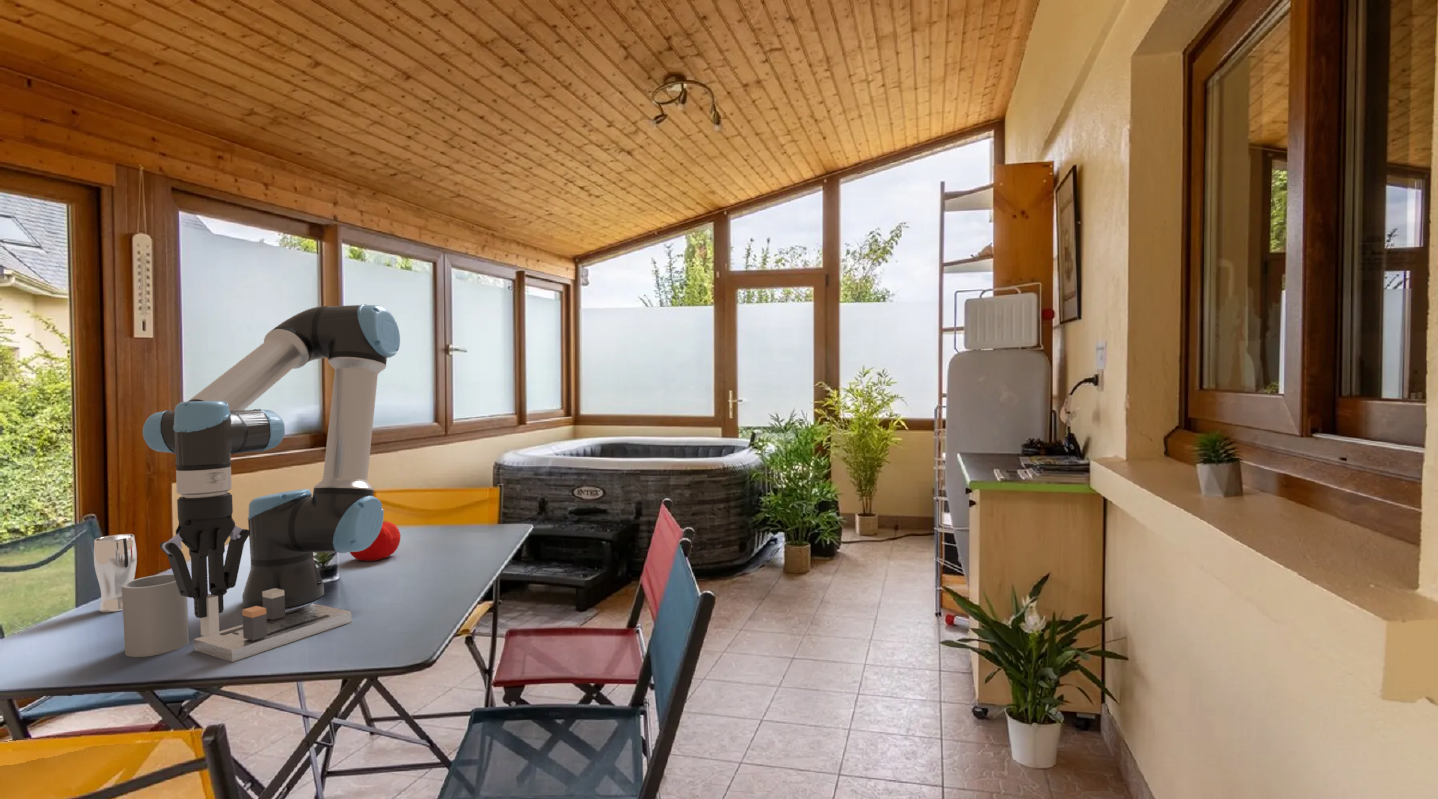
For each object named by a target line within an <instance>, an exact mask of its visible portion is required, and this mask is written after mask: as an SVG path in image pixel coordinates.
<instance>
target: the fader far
mask: <svg viewBox="0 0 1438 799" xmlns="http://www.w3.org/2000/svg"><path fill="white" fill-rule="evenodd" d="M262 597H263V608H266V616H267V619H271V620H274V619H277V618H281V617H284V616H285V612H286V608H285V596H284V590H281V589H276V588H274V589H270V590H266V591H263V592H262Z"/></svg>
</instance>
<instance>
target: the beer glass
mask: <svg viewBox="0 0 1438 799" xmlns="http://www.w3.org/2000/svg"><path fill="white" fill-rule="evenodd" d="M135 539H136V538H135V534H132V533H124V534H122V533H121V534H113V535H106V536H105V535H104V536H101V537H97V538H95V539H94V540H93V541H94V542H93V544H94V546H93V562H94V563H93V565H94V569H95V570H94V571H95V574H96V578H97V581H98V585H99V590H100V604H99V608H98V610H99V612H101V613H115V612H123V603H122V585H123V584H124V583H126V582H129V581H131V580H135V578H136V577H135V576H136V570H137V562H138V560H137V559H138V558H137V557H138V552H137V545H136V540H135Z"/></svg>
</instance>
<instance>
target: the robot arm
mask: <svg viewBox="0 0 1438 799" xmlns="http://www.w3.org/2000/svg"><path fill="white" fill-rule="evenodd" d="M400 345H401V335H400V330H399V326H398V323H397V321H396V320H395V317H394V315H393V314H392V313H391V312H390V311H389V310H388V309H387V308H386V307H384V306H381V305H375V304H374V305H373V304H366V303H365V304H359V305H358V304H357V305H356V304H355V305H331V306H330V305H323V306H322V305H321V306H316V307H312V308H308V309H305V310H303V311H302V312H301V311H300V312H299V313H297V314H295V315H292V316H291V317H289V318H288V319H286V320H284V321H283V322H281V323H280V324H278V325H277V326H275V327H273V329H271V330H270V331H268V332H267V333H266V335H264V339H263V343H261V344H260V345H259V346H257V347H256V348H255V349H254V350H252V351H251V352H249V353H248V354H247V355H246V356H245V357H243V358H242V359H241V360H239V361H238V362H237V363H236V364H235V365H233V366H232V367H230V368H228V370H226V371H225V372H223V374H222V375H220V376H219V377H218V378H216V379H215V380H213V381H212V382H211V383H210V384H208V385H207V386H205V387H204V388H203V389H201V390H200V391H199V392H198V393H197V394H196V395H194V396H193V397H192V398H190V399H189V400H188V401H181V402H178V404H176V406H174V410H164V411H158V412H154V413H153V414H151V415H150V416H148V417H147V418H146V420H145V422H144V424H143V427H142V436H143V440H144V441H145V444H146V446H148V448H150V449H151V450H153V451H156V452H158V453H159V452H160V453H170V454H175V464H176V465H175V467H176V469H175V478H176V480H175V481H176V482H175V483H176V493H177V494H178V495H180V497H178V498H177V500H176V503H177V519H178V520H177V521H178V526H177V527H176V530H175V535H174V536H172V537H171V538H170V539H169V540H167V541H162V542H161V543H159V548H160V550H161V551H162V552H164V554H165V555H166V556H167V559H168V562H169V565H170V568H171V572H172V574H174V577H175V580H176V583H177V586H178V589H179V592H180V595H182V596H185V597H187V598H189V599H190V598H191V599H193V606H194V609H193V610H194V616H195V618H198V619H200V620H199V621H200V636H202V637H203V636H207V637H213V636H216V635H219V631H220V619H219V618H220V616H219V615H220V614H222V613H223V612H224V610H225V607H224V604H225V603H224V595H226V594H227V593H228V590H229V589H233V588H234V587H235V586H236V585H237V580H238V574H239V569H240V565H241V560H242V555H243V550H244V548H245V547H244V546H245V543H246V541H247V539H249V553H250V554H249V555H250V570H249V573H248V576H247V579H246V582H245V586H244V589H243V593H242V607H244V609H247V608H250V607H254V606H259V607H263V597H262V592H263V591H266V590H270V589H274V588H276V589H281V590H284V596H285V609H287V608H291V607H296V606H300V605H304V604H307V603H311V602H314V601H315V600H318V599H320V598H322V596H324V594H325V588H324V587H325V586H324V581H323V578H322V577H321V574H320V572H319V570H318V567H317V564H316V562H315V561H314V560H315V559H314V553H338V554H346V553H350V552H358V551H362V550H365V549H366V548H368V547H369V546H370V545H371V544H372V543H373V541H375V540H376V538H377V536H378V535H379V533H380V530H381V527H382V524H383V521H384V518H385V517H384V512H385V511H384V508H383V504H382V502H381V500H380V499H378V498H377V497H375V496H374V493H375V489H374V488H373V486H372V485H371V484H370V483H369V481H368V477H369V476H368V475H369V466H370V458H371V457H370V455H371V446H372V435H373V426H374V414H375V406H376V396H377V388H378V387H377V385H378V378H379V377H378V376H379V374H380V373H381V372H383V371H384V370H385V369H386V367H387V360H388V358H392V357H394V356H396V354H397V352H398V351H399V349H400ZM319 359H327V363H328V364H329V365H330V367H332V368H333V370H334V375H333V385H332V392H331V393H332V394H331V400H330V401H331V404H330V412H329V422H328V430H327V436H326V437H327V438H326V448H325V455H324V456H325V457H324V465H323V473H322V474H323V475H322V480H321V481H319V482H318V483H317V484H315V485H314V486H313V490H312V491H313V492H311V490H310V489H309V488H302V489H294V490H288V491H283V492H276V493H271V494H267V495H262V496H258V497H255V498H253V499H252V500H251V501H250V502H249V503H248V517H247V521H248V522H247V523H248V529H245V528H242V527H238V526H237V525H236V522H235V520H234V519H233V512H234V510H233V509H234V507H233V495H232V494H231V492H229V491H230V490H231V489H232V488H233V487H232V486H233V485H232V455H237V454H245V453H253V452H261V453H262V452H264V451H267V450H271V449H274V448H276V447H278V446H279V445H280V444H281V443H282V442H283V439H284V437H285V435H286V434H285V433H286V432H285V430H286V428H285V426H286V425H285V422H284V421H283V418H282V417H281V416H280V415H279V414H278V413H276V412H275V411H273V410H270V409H261V408H258V409H256V408H255V409H247V408H248V407H249V406H250V405H252V404H253V403H254V402H255V401H257V399H258V398H260V397H261V396H262V395H263V394H265V393H266V392H267V391H268V390H269V389H271V388H272V387H273V386H274V385H276V384H277V383H278V381H280V380H282V378H283V377H285V375H287V374H288V373H289V372H290V371H292V370H293V369H300V368H302V367H304V366H306V364H308V363H309V362H311V361H314V360H319ZM246 409H247V410H246ZM248 537H249V538H248ZM228 538H229V542H228V544H227V545H228V546H227V551H226V550H225V549H226V548H225V546H226V545H225V544H226V542H227V540H228ZM182 544H183V545H185V546H186V547H187V549H188V554H189V556H190V569H191V570H189V568H188V563H187V561H186V558H185V555H184V553H183V551H182V549H183V545H182ZM225 551H226V554H225ZM224 554H225V555H226V556H225V560H224ZM190 571H191V573H190Z"/></svg>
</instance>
